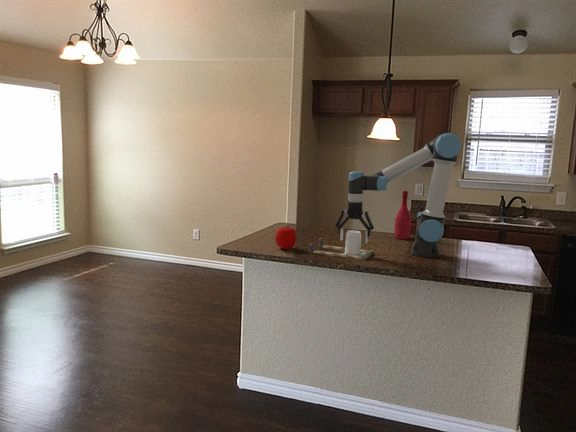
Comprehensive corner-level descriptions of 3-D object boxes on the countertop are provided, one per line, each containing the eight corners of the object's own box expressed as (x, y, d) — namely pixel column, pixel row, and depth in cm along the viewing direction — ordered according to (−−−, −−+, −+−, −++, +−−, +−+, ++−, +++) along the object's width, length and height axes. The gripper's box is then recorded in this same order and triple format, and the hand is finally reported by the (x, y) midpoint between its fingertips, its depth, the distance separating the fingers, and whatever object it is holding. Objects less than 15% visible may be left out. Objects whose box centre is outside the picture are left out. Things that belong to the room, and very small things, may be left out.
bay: (372, 253, 252) (373, 244, 251) (365, 260, 237) (365, 250, 236) (319, 246, 264) (320, 237, 263) (309, 252, 248) (309, 243, 247)
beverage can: (359, 256, 243) (361, 233, 241) (344, 254, 245) (345, 232, 243) (360, 252, 251) (362, 230, 249) (345, 251, 252) (346, 229, 250)
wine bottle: (412, 238, 296) (415, 190, 291) (406, 240, 288) (410, 192, 283) (397, 236, 301) (400, 189, 296) (391, 238, 293) (394, 190, 288)
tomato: (300, 249, 256) (301, 226, 254) (286, 252, 248) (287, 228, 246) (284, 245, 265) (285, 223, 262) (269, 248, 256) (270, 225, 254)
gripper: (380, 202, 242) (379, 242, 245) (334, 199, 251) (333, 238, 255) (377, 203, 235) (375, 245, 238) (330, 200, 245) (329, 240, 248)
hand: (353, 241), depth 247 cm, fingers open, 13 cm apart
